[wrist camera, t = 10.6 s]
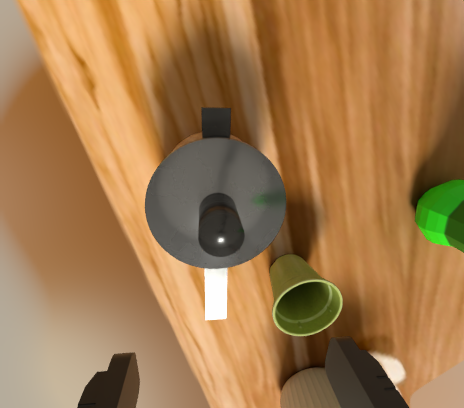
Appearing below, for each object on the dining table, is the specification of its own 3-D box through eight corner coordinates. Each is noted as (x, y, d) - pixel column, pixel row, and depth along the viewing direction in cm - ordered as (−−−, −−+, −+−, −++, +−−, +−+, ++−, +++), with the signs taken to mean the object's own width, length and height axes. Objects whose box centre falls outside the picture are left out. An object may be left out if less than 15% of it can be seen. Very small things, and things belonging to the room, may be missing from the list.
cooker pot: (157, 105, 30) (139, 106, 21) (265, 107, 31) (288, 109, 23) (171, 277, 39) (162, 325, 30) (253, 273, 40) (267, 318, 32)
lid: (139, 136, 22) (116, 148, 16) (289, 137, 24) (318, 148, 18) (154, 265, 27) (140, 311, 21) (276, 259, 29) (296, 300, 23)
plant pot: (253, 252, 39) (267, 291, 31) (312, 237, 39) (340, 272, 31) (264, 298, 42) (278, 343, 34) (318, 284, 43) (344, 325, 35)
